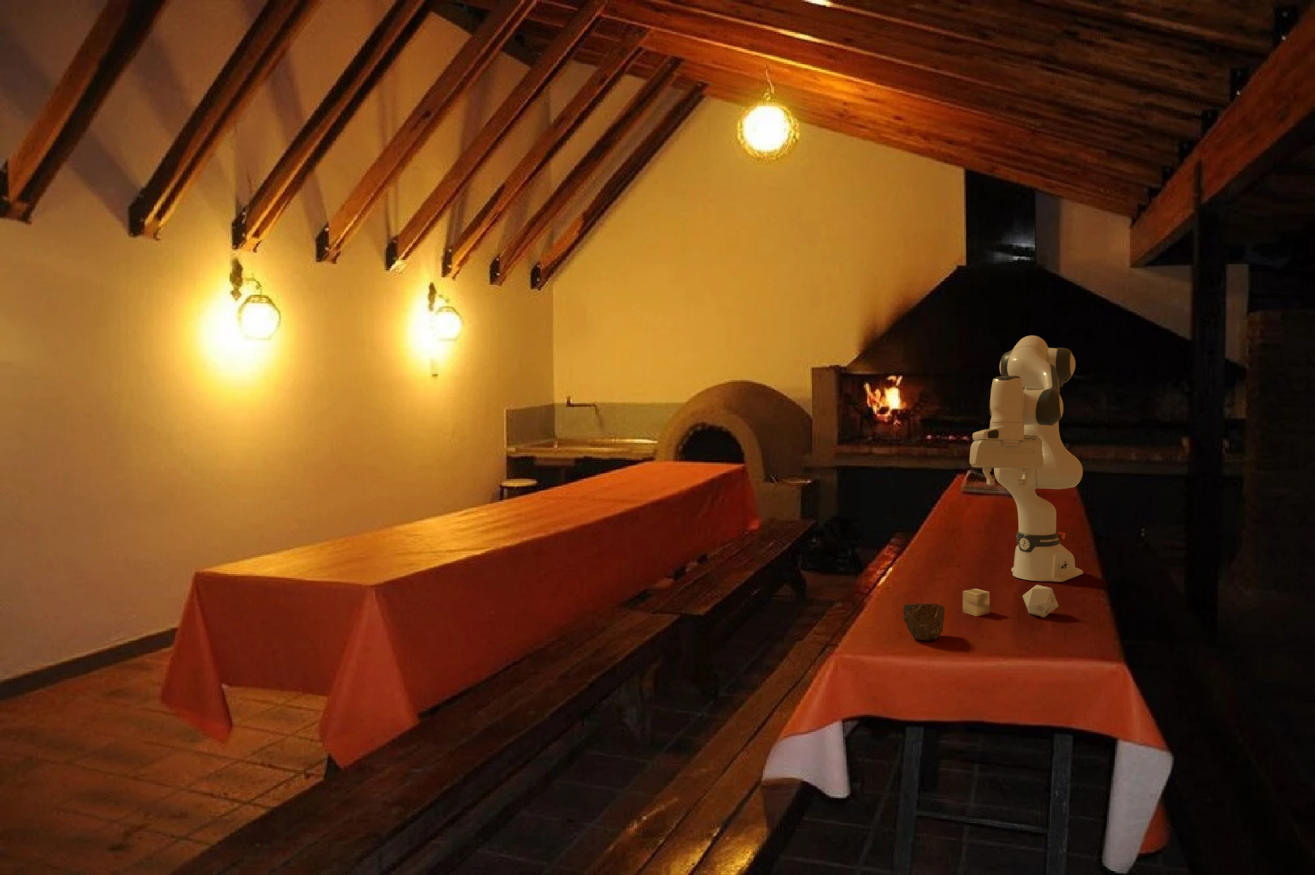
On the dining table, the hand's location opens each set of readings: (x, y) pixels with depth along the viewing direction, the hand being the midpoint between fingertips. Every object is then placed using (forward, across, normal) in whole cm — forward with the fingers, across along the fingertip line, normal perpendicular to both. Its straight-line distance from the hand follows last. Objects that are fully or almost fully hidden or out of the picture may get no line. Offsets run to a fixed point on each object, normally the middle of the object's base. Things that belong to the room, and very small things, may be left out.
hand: (1006, 485), depth 271 cm
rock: (+40, +27, +8) cm, 49 cm away
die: (+35, -12, -3) cm, 37 cm away
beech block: (+35, +4, -10) cm, 37 cm away
